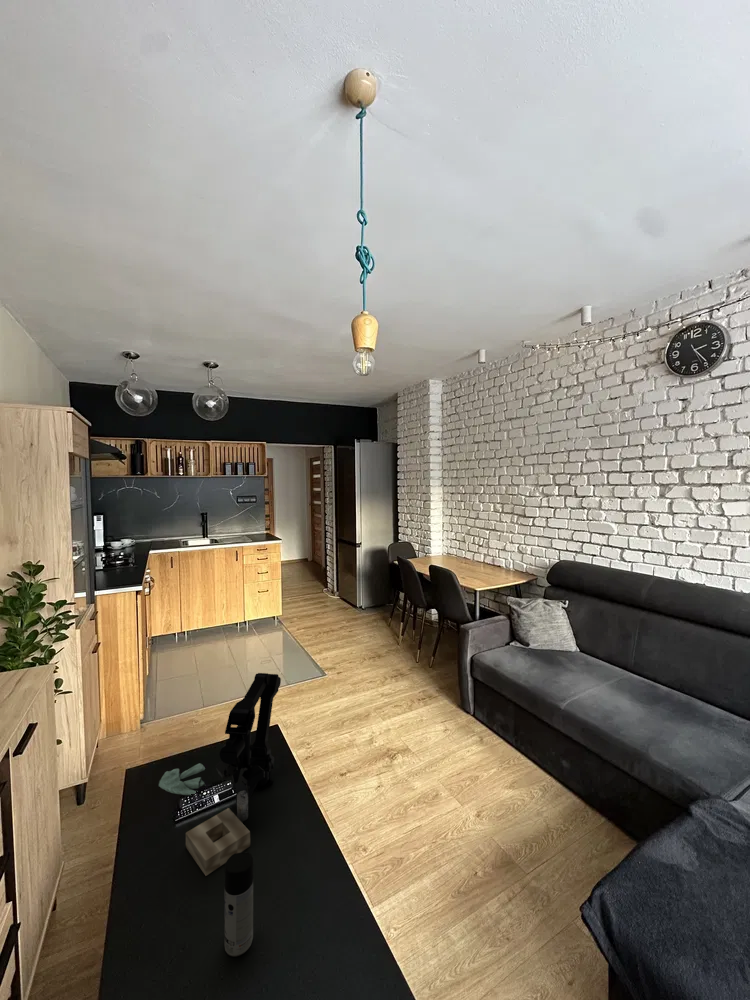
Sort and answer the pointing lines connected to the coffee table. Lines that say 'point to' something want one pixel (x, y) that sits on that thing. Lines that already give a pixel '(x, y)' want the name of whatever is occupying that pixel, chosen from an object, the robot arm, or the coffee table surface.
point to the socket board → (221, 850)
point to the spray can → (238, 904)
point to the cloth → (174, 785)
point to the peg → (242, 806)
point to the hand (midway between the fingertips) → (242, 789)
